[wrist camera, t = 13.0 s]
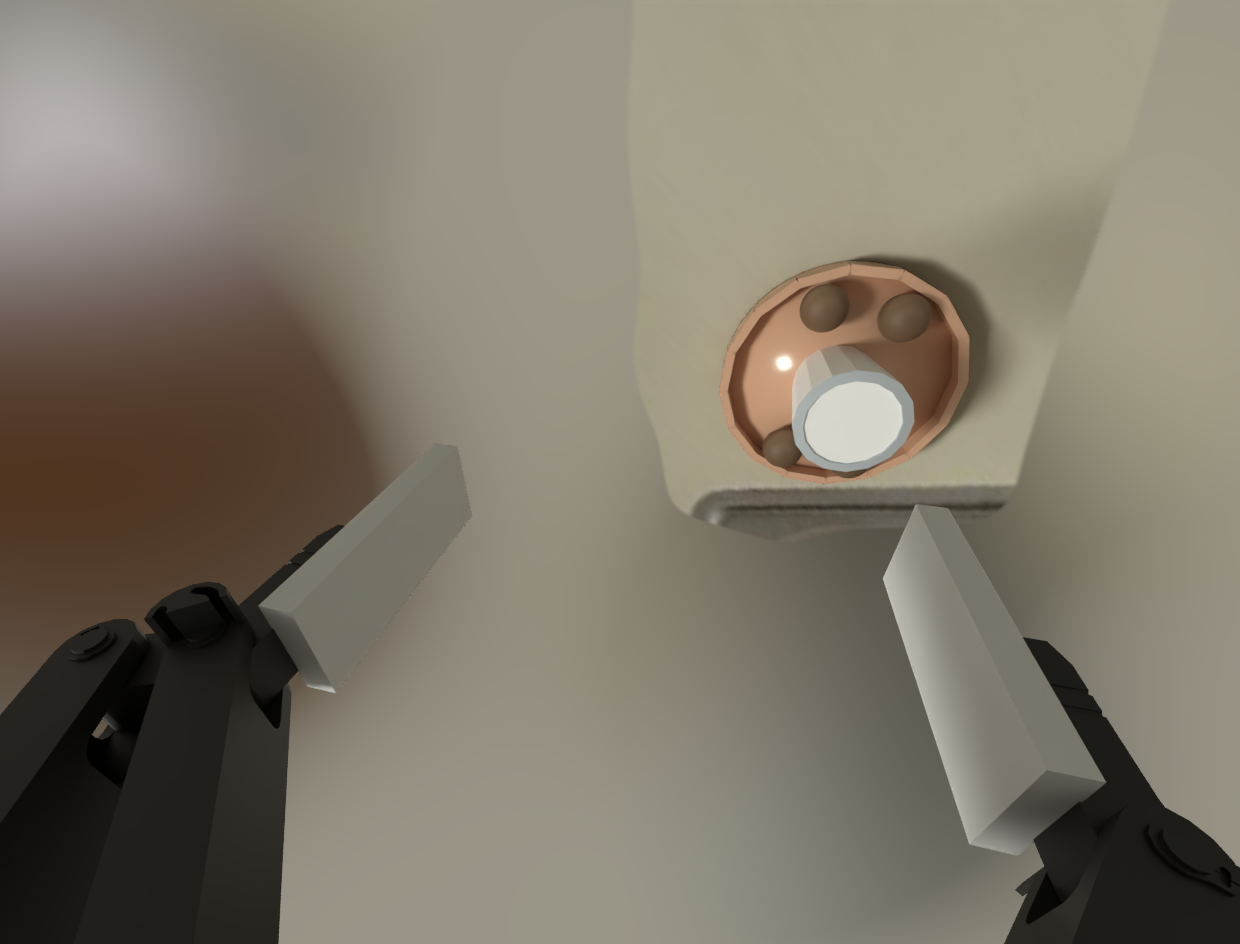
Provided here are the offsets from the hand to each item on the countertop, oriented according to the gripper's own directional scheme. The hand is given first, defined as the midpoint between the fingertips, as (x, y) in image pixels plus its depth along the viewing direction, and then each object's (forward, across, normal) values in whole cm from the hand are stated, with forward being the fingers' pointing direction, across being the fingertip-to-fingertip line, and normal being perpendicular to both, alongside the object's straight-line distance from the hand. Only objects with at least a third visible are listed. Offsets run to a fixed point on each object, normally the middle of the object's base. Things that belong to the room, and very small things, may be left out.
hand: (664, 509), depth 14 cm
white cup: (+24, +9, -5) cm, 26 cm away
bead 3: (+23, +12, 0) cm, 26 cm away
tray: (+25, +9, -5) cm, 27 cm away
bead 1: (+22, +7, -10) cm, 25 cm away
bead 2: (+23, +7, +1) cm, 24 cm away
